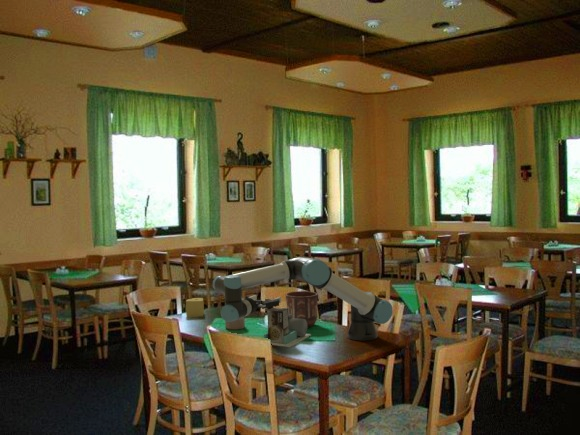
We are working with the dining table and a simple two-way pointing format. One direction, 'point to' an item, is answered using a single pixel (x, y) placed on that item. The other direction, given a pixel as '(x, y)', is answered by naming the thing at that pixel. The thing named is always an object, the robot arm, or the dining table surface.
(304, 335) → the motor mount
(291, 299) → the pottery
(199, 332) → the dining table surface
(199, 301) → the cheese
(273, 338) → the coffee box
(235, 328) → the planter
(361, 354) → the dining table surface
